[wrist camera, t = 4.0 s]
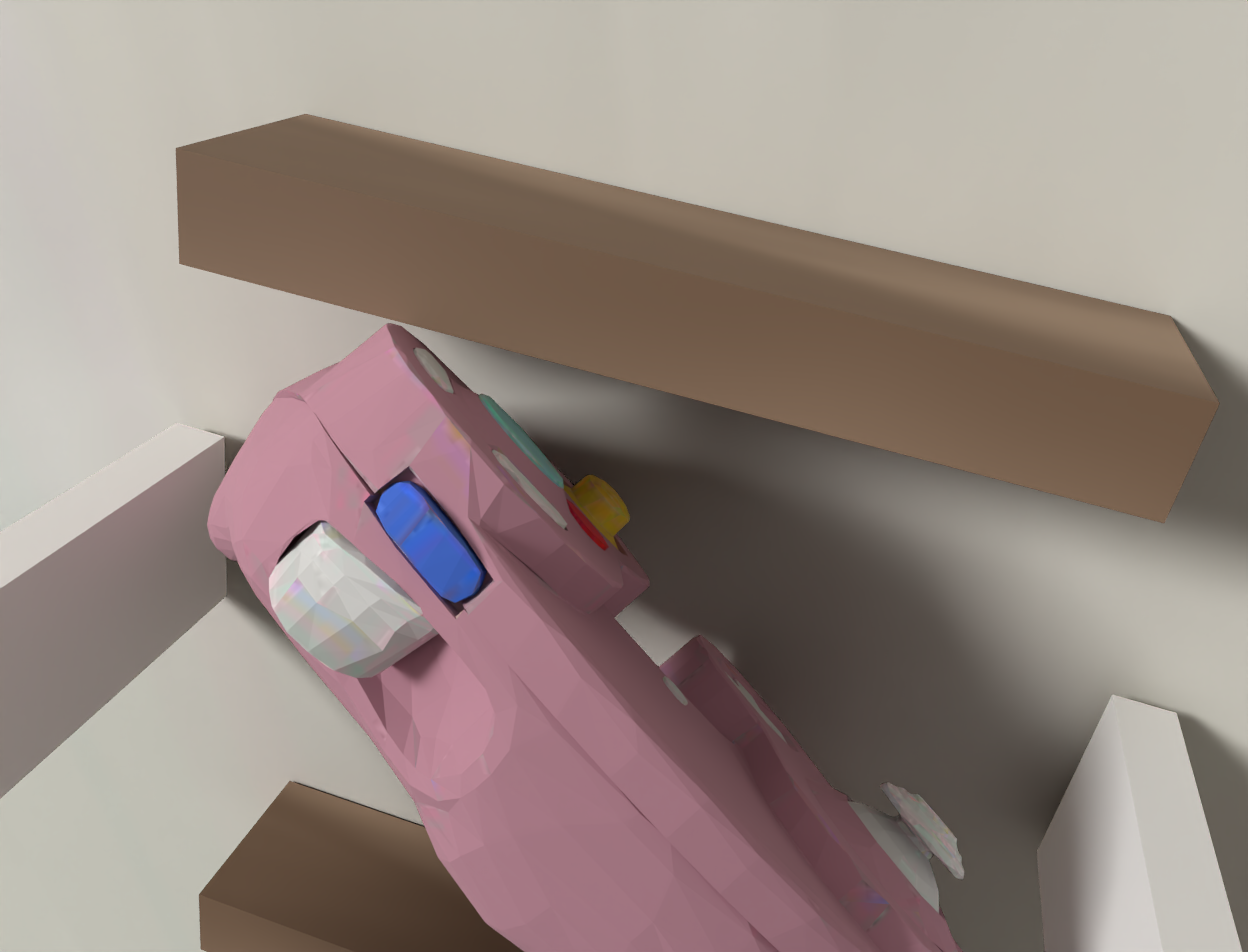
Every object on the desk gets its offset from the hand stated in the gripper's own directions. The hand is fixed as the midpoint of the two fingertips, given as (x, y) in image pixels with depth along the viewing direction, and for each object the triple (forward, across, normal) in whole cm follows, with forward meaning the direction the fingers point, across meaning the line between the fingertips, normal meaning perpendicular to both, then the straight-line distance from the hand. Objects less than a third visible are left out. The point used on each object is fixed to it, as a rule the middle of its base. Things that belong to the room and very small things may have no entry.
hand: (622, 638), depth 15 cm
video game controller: (0, 0, 0) cm, 1 cm away
